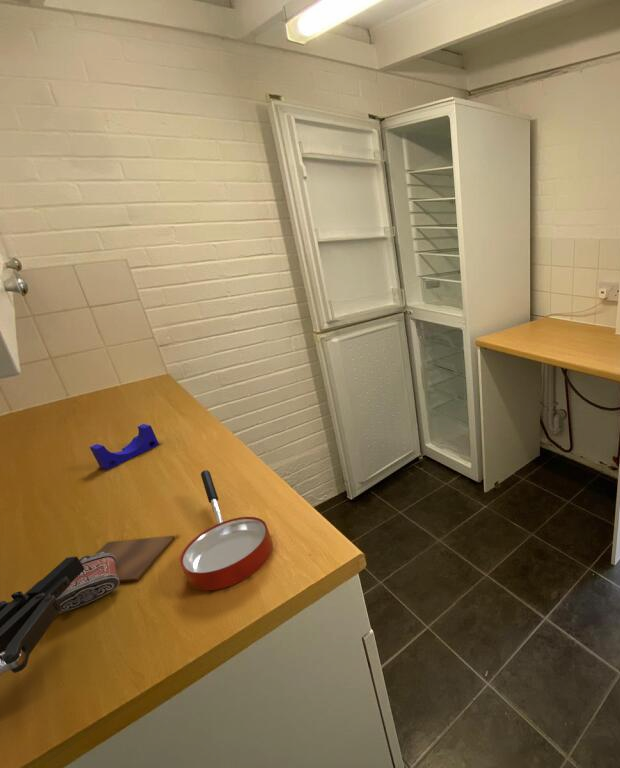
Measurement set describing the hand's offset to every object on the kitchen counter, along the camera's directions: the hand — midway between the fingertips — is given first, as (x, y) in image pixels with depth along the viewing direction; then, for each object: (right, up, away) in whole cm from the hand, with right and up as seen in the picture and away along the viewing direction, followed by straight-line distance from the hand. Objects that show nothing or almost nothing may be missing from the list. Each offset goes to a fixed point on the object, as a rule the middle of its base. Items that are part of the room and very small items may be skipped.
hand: (75, 563), depth 65 cm
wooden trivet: (-2, -4, +10) cm, 11 cm away
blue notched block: (-32, +9, +44) cm, 55 cm away
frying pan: (+11, -1, +16) cm, 20 cm away
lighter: (0, -6, +1) cm, 6 cm away
